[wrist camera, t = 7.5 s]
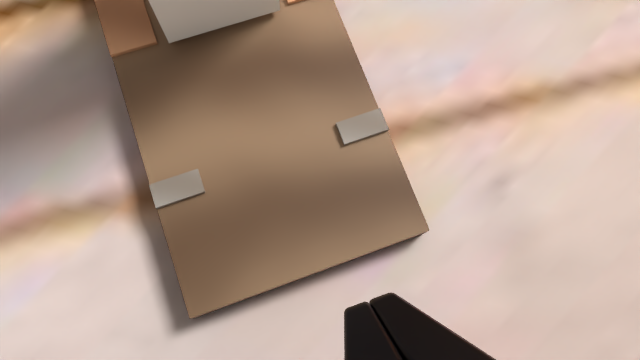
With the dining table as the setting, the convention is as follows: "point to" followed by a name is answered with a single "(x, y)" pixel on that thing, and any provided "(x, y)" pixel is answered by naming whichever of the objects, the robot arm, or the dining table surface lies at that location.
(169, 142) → the brown flat wooden board
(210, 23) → the white tall block
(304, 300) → the dining table surface
